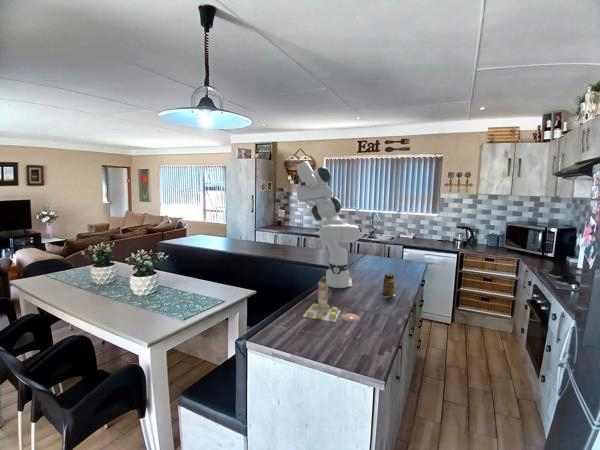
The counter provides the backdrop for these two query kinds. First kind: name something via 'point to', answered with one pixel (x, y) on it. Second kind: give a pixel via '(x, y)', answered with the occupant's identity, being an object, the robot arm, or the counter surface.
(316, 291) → the cupcake
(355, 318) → the coaster
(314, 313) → the mat
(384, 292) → the condiment
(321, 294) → the pepper mill
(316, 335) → the counter surface
